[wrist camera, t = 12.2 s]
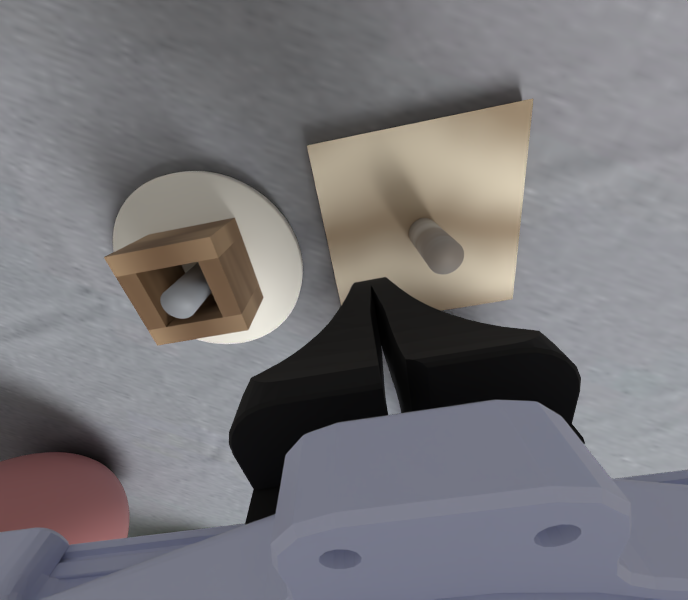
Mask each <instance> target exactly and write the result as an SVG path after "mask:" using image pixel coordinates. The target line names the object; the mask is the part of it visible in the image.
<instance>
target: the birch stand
mask: <svg viewBox="0 0 688 600" xmlns="http://www.w3.org/2000/svg"><path fill="white" fill-rule="evenodd" d="M532 107H533V99H529V100H524V101H519V102H514V103H509V104H504V105H500V106H495V107H490V108H485V109H480V110H475V111H471V112H466V113H461V114H456V115H451V116H447V117H442V118H437V119H432V120H427V121H422V122H418V123H413V124H408V125H403V126H398V127H394V128H389V129H384V130H379V131H374V132H369V133H365V134H360V135H355V136H350V137H345V138H341V139H336V140H331V141H326V142H321V143H316V144H312V145H307V148H308V153H309V158H310V162H311V167H312V172H313V176H314V181H315V186H316V190H317V195H318V200H319V204H320V209H321V214H322V218H323V223H324V228H325V232H326V237H327V241H328V246H329V251H330V255H331V260H332V265H333V269H334V274H335V279H336V283H337V288H338V293H339V297H340V302H341V305H342V304H343V302H344V300H345V299H346V297H347V295H348V293H349V291H350V288H351V286H352V285H353V283H355V282H360V281H366V280H371V279H377V278H382V277H387V278H388V279H389V280H390V281H392V282H393V283H394V284H395V285H397V286H398V287H399V288H400V289H402V290H403V291H405V292H406V293H408V294H409V295H411V296H412V297H414V298H415V299H417V300H419V301H421V302H423V303H424V304H427V305H429V306H431V307H433V308H435V309H438V310H440V311H442V310H448V309H454V308H461V307H467V306H473V305H479V304H485V303H492V302H498V301H504V300H510V299H513V289H514V279H515V270H516V260H517V251H518V241H519V231H520V222H521V212H522V203H523V193H524V183H525V174H526V164H527V155H528V145H529V136H530V126H531V116H532Z"/></svg>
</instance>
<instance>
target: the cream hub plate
mask: <svg viewBox="0 0 688 600" xmlns="http://www.w3.org/2000/svg"><path fill="white" fill-rule="evenodd" d="M230 218H235V219H236V222H237V225H238V227H239V230H240V233H241V236H242V238H243V241H244V244H245V247H246V250H247V252H248V255H249V258H250V261H251V264H252V266H253V269H254V272H255V275H256V277H257V280H258V283H259V286H260V289H261V291H262V294H263V297H264V298H263V300H262V302H261V304H260V306H259V309H258V311H257V313H256V315H255V317H254V319H253V321H252V324H251V326H250V328H249V330H247V331H241V332H235V333H229V334H223V335H217V336H211V337H205V338H199V339H197V340H200V341H205V342H210V343H219V344H234V343H243V342H247V341H252V340H255V339H257V338H260V337H262V336H264V335H266V334H268V333H270V332H271V331H273V330H274V329H276V328H277V327H278V326H279V325H281V324H282V323H283V322H284V321H285V320H286V318H287V317H288V316H289V315H290V313H291V312H292V310H293V308H294V306H295V304H296V302H297V299H298V297H299V293H300V289H301V285H302V279H303V260H302V254H301V249H300V246H299V243H298V240H297V238H296V236H295V234H294V232H293V230H292V228H291V226H290V224H289V223H288V221H287V220H286V218H285V217H284V216H283V214H282V213H281V212H280V211H279V210H278V208H277V207H276V206H275V205H274V204H273V203H272V202H271V201H269V200H268V199H267V198H266V197H265V196H264V195H262V194H261V193H260V192H258V191H257V190H256V189H254V188H252V187H250V186H249V185H247V184H245V183H244V182H241V181H239V180H237V179H234V178H232V177H229V176H226V175H222V174H219V173H214V172H207V171H184V172H177V173H172V174H168V175H164V176H161V177H157V178H155V179H153V180H151V181H149V182H147V183H145V184H143V185H142V186H140V187H139V188H138V189H136V190H135V191H134V192H133V193H132V194H131V195H130V196H129V197H128V198H127V199H126V201H125V202H124V204H123V205H122V207H121V208H120V211H119V213H118V215H117V218H116V221H115V225H114V230H113V251H114V252H115V251H117V250H119V249H121V248H123V247H125V246H127V245H129V244H131V243H133V242H135V241H137V240H139V239H141V238H143V237H145V236H147V235H149V234H154V233H159V232H164V231H169V230H174V229H179V228H184V227H189V226H194V225H199V224H205V223H210V222H215V221H220V220H225V219H230ZM182 267H183V269H184V271H185V274H184V275H183V276H182V277H181V278H179V279H178V280H177V281H176V282H175V283H174V284H173V285H172V286H170V287H169V288H168V289H167V290H166V291H165V292H164V293H163V294H162V295H161V299H160V302H161V305H162V307H163V309H164V310H165V311H166V312H167V313H168V314H169V315H171V316H173V317H176V318H180V319H185V318H189V317H191V316H192V315H193V314H194V313H195V312H196V311H197V309H198V308H199V307H200V306H201V304H202V303H203V302H204V301H205V300H206V298H207V297H208V296H209V295H210V294H211V290H210V287H209V285H208V283H207V281H206V279H205V276H204V274H203V272H202V270H201V267H200V265H199V263H198V262H193V263H188V264H183V265H182Z"/></svg>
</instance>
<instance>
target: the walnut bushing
mask: <svg viewBox="0 0 688 600" xmlns="http://www.w3.org/2000/svg"><path fill="white" fill-rule="evenodd" d="M104 258H105V260H106V262H107V263H108V265H109V267H110V268H111V270H112V272H113V273H114V275H115V277H116V278H117V280H118V281H119V283H120V285H121V286H122V288H123V290H124V291H125V293H126V295H127V296H128V298H129V299H130V301H131V303H132V304H133V306H134V308H135V309H136V311H137V313H138V314H139V316H140V318H141V319H142V321H143V322H144V324H145V326H146V327H147V329H148V331H149V332H150V334H151V336H152V337H153V339H154V341H155V342H156V344H157V345H163V344H169V343H175V342H181V341H187V340H193V339H199V338H205V337H211V336H217V335H223V334H229V333H235V332H241V331H247V330H249V328H250V326H251V324H252V321H253V319H254V317H255V315H256V313H257V311H258V309H259V306H260V304H261V302H262V300H263V298H264V297H263V294H262V291H261V289H260V286H259V283H258V280H257V277H256V275H255V272H254V269H253V266H252V264H251V261H250V258H249V255H248V252H247V250H246V247H245V244H244V241H243V238H242V236H241V233H240V230H239V227H238V225H237V222H236V219H235V218H230V219H225V220H220V221H215V222H210V223H205V224H199V225H194V226H189V227H184V228H179V229H174V230H169V231H164V232H159V233H154V234H149V235H147V236H145V237H143V238H141V239H139V240H137V241H135V242H133V243H131V244H129V245H127V246H125V247H123V248H121V249H119V250H117V251H115V252H113V253H111V254H109V255H107V256H105V257H104ZM193 262H198V263H199V265H200V267H201V270H202V272H203V274H204V276H205V279H206V281H207V283H208V285H209V287H210V290H211V294H210V295H209V296H208V297H207V298H206V300H205V301H204V302H203V303H202V304H201V306H200V307H199V308H198V309H197V311H196V312H195V313H194V314H193V315H192V316H191V317H189V318H185V319H180V318H176V317H173V316H171V315H169V314H168V313H167V312H166V311H165V310H164V309H163V307H162V305H161V302H160V299H161V295H162V294H163V293H164V292H165V291H166V290H167V289H168V288H169V287H170V286H172V285H173V284H174V283H175V282H176V281H177V280H178V279H179V278H181V277H182V276H183V275H184V274H185V271H184V269H183V267H182V265H183V264H188V263H193Z"/></svg>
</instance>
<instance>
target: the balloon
mask: <svg viewBox="0 0 688 600" xmlns="http://www.w3.org/2000/svg"><path fill="white" fill-rule="evenodd" d="M29 528H47V529H51V530H54V531H56V532H58V533H59V534H61V535H62V536H63V537H64V538H65V539H66V540H67V541H68V543H69V545H71V544H80V543H88V542H96V541H104V540H113V539H121V538H127V536H128V530H129V506H128V500H127V496H126V493H125V491H124V488H123V486H122V484H121V483H120V481H119V480H118V478H117V477H116V476H115V475H114V473H113V472H112V471H111V470H109V469H108V468H107V467H106V466H104V465H103V464H101V463H100V462H98V461H96V460H94V459H91V458H89V457H86V456H82V455H78V454H73V453H65V452H44V453H35V454H29V455H24V456H19V457H15V458H11V459H8V460H4V461H1V462H0V532H5V531H13V530H21V529H29Z"/></svg>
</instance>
